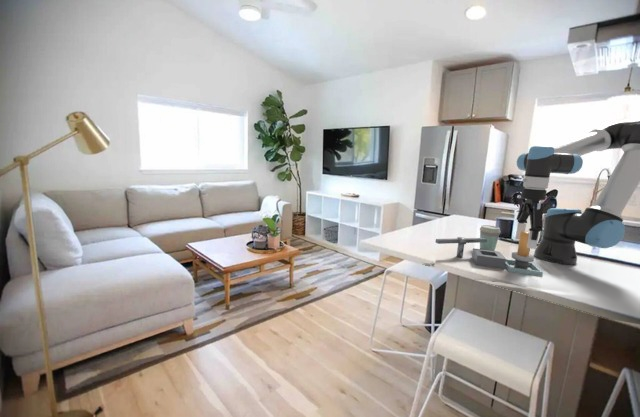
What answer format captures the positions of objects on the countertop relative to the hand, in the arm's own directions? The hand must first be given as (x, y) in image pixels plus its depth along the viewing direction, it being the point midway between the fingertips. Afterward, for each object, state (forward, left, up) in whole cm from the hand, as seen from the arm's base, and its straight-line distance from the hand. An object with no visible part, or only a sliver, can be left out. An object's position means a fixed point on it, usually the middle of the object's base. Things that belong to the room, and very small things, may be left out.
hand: (525, 243), depth 115 cm
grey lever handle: (+21, -5, -11) cm, 25 cm away
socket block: (+15, -2, -11) cm, 19 cm away
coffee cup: (+7, -22, -11) cm, 26 cm away
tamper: (0, 0, -11) cm, 11 cm away
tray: (0, 0, -11) cm, 11 cm away
